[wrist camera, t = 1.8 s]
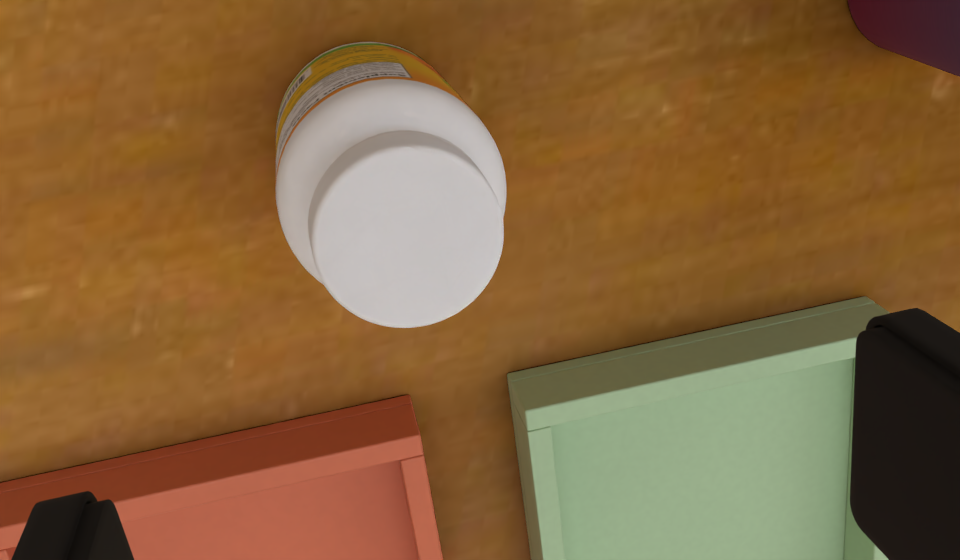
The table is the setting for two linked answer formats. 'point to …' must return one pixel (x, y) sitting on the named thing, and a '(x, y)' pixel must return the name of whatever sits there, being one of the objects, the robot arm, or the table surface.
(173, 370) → the table surface
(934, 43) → the cup
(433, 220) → the supplement bottle
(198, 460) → the terracotta tray
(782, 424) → the sage tray
